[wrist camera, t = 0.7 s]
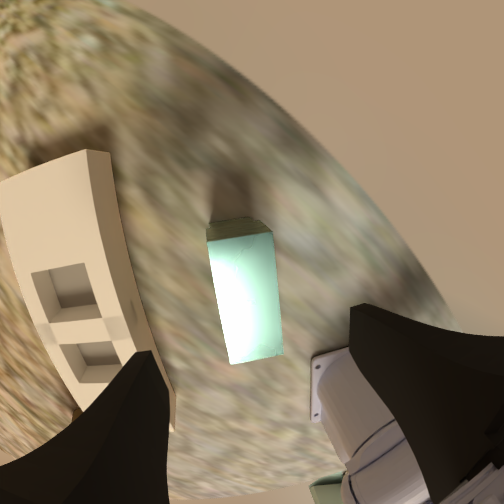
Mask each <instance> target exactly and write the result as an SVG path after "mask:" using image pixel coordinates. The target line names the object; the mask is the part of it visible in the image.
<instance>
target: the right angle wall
mask: <svg viewBox="0 0 504 504" xmlns="http://www.w3.org/2000/svg"><path fill="white" fill-rule="evenodd" d="M348 473H349V472H348V470H345V471H341V472H337V473H334V474H331V475H328V476H325V477H322V478H319V479H317V480H316V481H315V482H313V483H312V484H310V485H309V489H310V492H311V494H312V497H313V499H314V502H315V504H343V501H342V498H341V485H342V480H343V477H344V476H345V475H347V474H348Z"/></svg>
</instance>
